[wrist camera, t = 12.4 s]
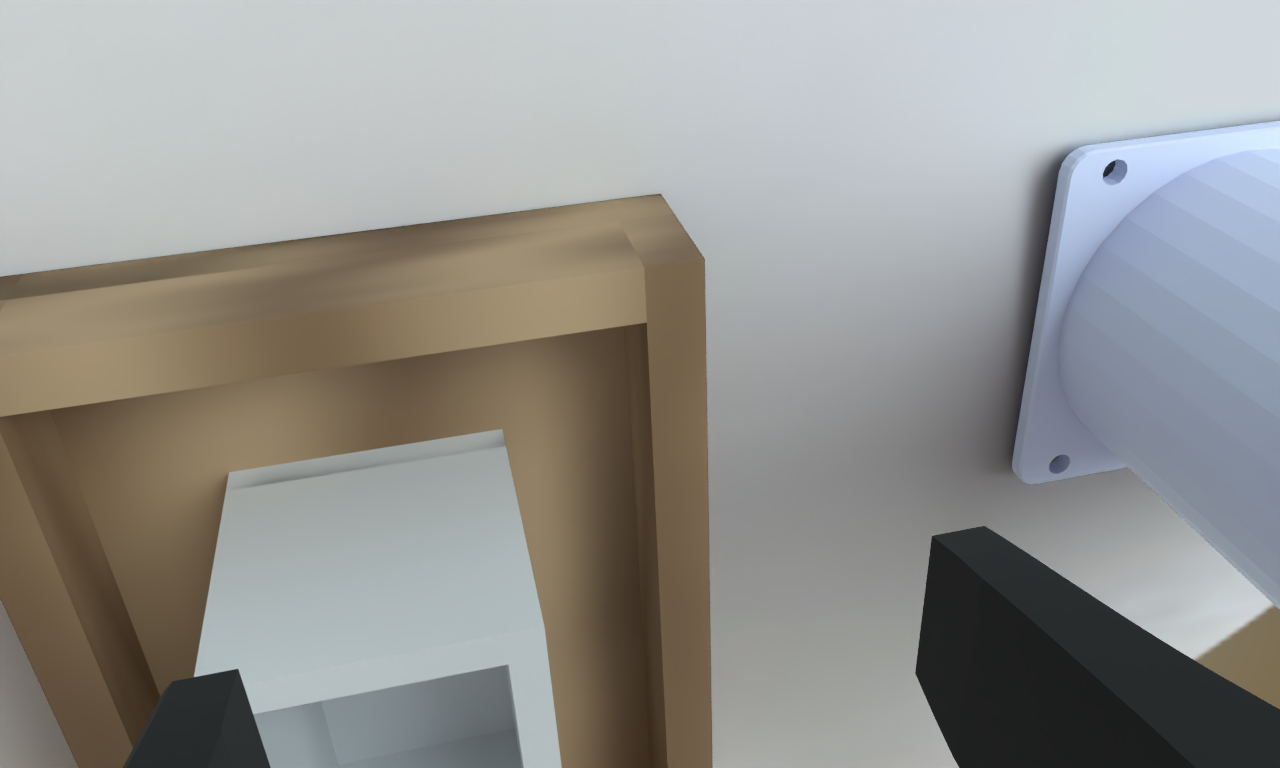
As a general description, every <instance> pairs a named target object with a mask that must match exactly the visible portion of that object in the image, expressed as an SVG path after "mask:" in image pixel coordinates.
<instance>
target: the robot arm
mask: <svg viewBox="0 0 1280 768" xmlns="http://www.w3.org/2000/svg"><path fill="white" fill-rule="evenodd" d="M1112 161H1115V167H1114V169H1113V171H1112V172H1111V173H1110V174H1109V175H1108V176H1107V177H1104V178H1103V172H1104V170H1105V167H1106V166H1107V165H1108V164H1109V163H1110V162H1112ZM1059 455H1060V456H1059ZM1057 456H1059V458H1058V459H1057V460H1056V461H1055V462H1053V463H1051V461H1052V460H1053V459H1054V458H1055V457H1057ZM1122 468H1129V469H1130V470H1131V471H1133V472H1134V473H1135V474H1136V475H1137V476H1138V477H1139V478H1140V479H1141V480H1142V481H1143V482H1144V483H1145V484H1146V485H1147V486H1149V487H1150V488H1151V489H1152V490H1153V491H1154V492H1155V493H1156V494H1157V495H1158V496H1159V497H1160V498H1161V499H1162V500H1163V501H1164V502H1166V503H1167V504H1168V505H1169V506H1170V507H1171V508H1172V509H1173V510H1174V511H1175V512H1176V513H1177V514H1178V515H1179V516H1180V517H1182V518H1183V519H1184V520H1185V521H1186V522H1187V523H1188V524H1189V525H1190V526H1191V527H1192V528H1193V529H1194V530H1195V531H1196V532H1197V533H1199V534H1200V535H1201V536H1202V537H1203V538H1204V539H1205V540H1206V541H1207V542H1208V543H1209V544H1210V545H1211V546H1212V547H1213V548H1215V549H1216V550H1217V551H1218V552H1219V553H1220V554H1221V555H1222V556H1223V557H1224V558H1225V559H1226V560H1227V561H1228V562H1229V563H1230V564H1232V565H1233V566H1234V567H1235V568H1236V569H1237V570H1238V571H1239V572H1240V573H1241V574H1242V575H1243V576H1244V577H1245V578H1246V579H1248V580H1249V581H1250V582H1251V583H1252V584H1253V585H1254V586H1255V587H1256V588H1257V589H1258V590H1259V591H1260V592H1261V593H1262V594H1263V595H1265V596H1266V597H1267V598H1268V599H1269V600H1270V601H1271V602H1272V603H1273V604H1274V605H1275V606H1276V607H1277V608H1279V610H1280V121H1273V122H1265V123H1257V124H1249V125H1241V126H1234V127H1226V128H1218V129H1210V130H1202V131H1194V132H1186V133H1178V134H1170V135H1163V136H1155V137H1147V138H1139V139H1131V140H1123V141H1115V142H1107V143H1099V144H1091V145H1085V146H1082V147H1079V148H1077V149H1075V150H1074V151H1073V152H1071V153H1070V154H1069V155H1068V156H1067V157H1066V159H1065V160H1064V161H1063V163H1062V165H1061V168H1060V171H1059V175H1058V181H1057V188H1056V194H1055V200H1054V206H1053V212H1052V218H1051V225H1050V231H1049V237H1048V243H1047V249H1046V255H1045V262H1044V268H1043V274H1042V280H1041V286H1040V292H1039V299H1038V305H1037V311H1036V317H1035V323H1034V329H1033V336H1032V342H1031V348H1030V354H1029V360H1028V366H1027V373H1026V379H1025V385H1024V391H1023V397H1022V404H1021V410H1020V416H1019V422H1018V428H1017V434H1016V441H1015V447H1014V453H1013V459H1012V470H1013V471H1014V473H1015V474H1016V475H1017V476H1018V478H1019V479H1020V480H1021V481H1022V482H1024V483H1026V484H1040V483H1045V482H1051V481H1056V480H1062V479H1067V478H1073V477H1078V476H1084V475H1089V474H1095V473H1100V472H1106V471H1111V470H1117V469H1122ZM916 676H917V678H918V680H919V682H920V685H921V687H922V689H923V692H924V694H925V696H926V698H927V701H928V703H929V705H930V708H931V710H932V712H933V714H934V717H935V719H936V721H937V723H938V725H939V728H940V730H941V732H942V734H943V736H944V738H945V740H946V742H947V744H948V747H949V749H950V751H951V753H952V755H953V757H954V759H955V761H956V762H957V764H958V766H959V768H1280V709H1278V708H1276V707H1274V706H1272V705H1271V704H1269V703H1267V702H1265V701H1264V700H1262V699H1260V698H1258V697H1257V696H1255V695H1253V694H1251V693H1250V692H1248V691H1246V690H1244V689H1242V688H1241V687H1239V686H1237V685H1235V684H1234V683H1232V682H1230V681H1228V680H1227V679H1225V678H1223V677H1221V676H1220V675H1218V674H1216V673H1214V672H1213V671H1211V670H1209V669H1208V668H1206V667H1204V666H1203V665H1201V664H1199V663H1197V662H1196V661H1194V660H1193V659H1191V658H1189V657H1188V656H1186V655H1184V654H1183V653H1181V652H1179V651H1178V650H1176V649H1174V648H1173V647H1171V646H1170V645H1168V644H1166V643H1165V642H1163V641H1162V640H1160V639H1158V638H1157V637H1155V636H1154V635H1152V634H1150V633H1149V632H1147V631H1146V630H1144V629H1142V628H1141V627H1139V626H1138V625H1136V624H1135V623H1133V622H1131V621H1130V620H1128V619H1127V618H1125V617H1124V616H1122V615H1120V614H1119V613H1117V612H1116V611H1114V610H1113V609H1111V608H1110V607H1108V606H1107V605H1105V604H1103V603H1102V602H1100V601H1099V600H1097V599H1096V598H1094V597H1093V596H1091V595H1090V594H1088V593H1087V592H1085V591H1084V590H1082V589H1081V588H1079V587H1078V586H1076V585H1075V584H1073V583H1072V582H1070V581H1068V580H1067V579H1065V578H1064V577H1062V576H1061V575H1059V574H1058V573H1056V572H1055V571H1053V570H1052V569H1050V568H1049V567H1047V566H1046V565H1044V564H1043V563H1041V562H1040V561H1038V560H1037V559H1035V558H1034V557H1032V556H1031V555H1029V554H1028V553H1026V552H1025V551H1023V550H1022V549H1020V548H1018V547H1017V546H1015V545H1014V544H1012V543H1011V542H1009V541H1008V540H1006V539H1005V538H1003V537H1001V536H1000V535H998V534H997V533H995V532H993V531H992V530H990V529H988V528H987V527H985V526H982V527H977V528H971V529H966V530H961V531H956V532H951V533H945V534H940V535H935V536H932V541H931V549H930V557H929V565H928V574H927V582H926V590H925V598H924V607H923V615H922V623H921V631H920V640H919V648H918V656H917V664H916ZM123 768H271V767H270V764H269V761H268V758H267V755H266V752H265V749H264V746H263V743H262V740H261V736H260V733H259V730H258V727H257V724H256V721H255V718H254V715H253V712H252V709H251V706H250V703H249V700H248V697H247V694H246V691H245V688H244V685H243V682H242V679H241V676H240V672H239V669H234V670H229V671H224V672H218V673H213V674H208V675H203V676H197V677H192V678H187V679H182V680H177V681H172V682H171V684H170V685H169V686H168V687H167V688H166V690H165V691H164V692H163V694H162V695H161V697H160V699H159V701H158V703H157V705H156V707H155V709H154V711H153V713H152V714H151V716H150V718H149V720H148V722H147V724H146V726H145V727H144V729H143V731H142V733H141V735H140V737H139V739H138V741H137V742H136V744H135V746H134V748H133V750H132V752H131V753H130V755H129V757H128V759H127V761H126V762H125V764H124V766H123Z"/></svg>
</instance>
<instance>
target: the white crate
mask: <svg viewBox="0 0 1280 768" xmlns="http://www.w3.org/2000/svg"><path fill="white" fill-rule="evenodd" d="M234 669H239V672H240V676H241V679H242V682H243V685H244V688H245V691H246V694H247V697H248V700H249V703H250V706H251V709H252V712H253V715H254V718H255V721H256V724H257V727H258V730H259V733H260V736H261V740H262V743H263V746H264V749H265V752H266V755H267V758H268V761H269V764H270V767H271V768H562V766H561V758H560V750H559V742H558V733H557V725H556V717H555V709H554V701H553V693H552V684H551V676H550V668H549V660H548V652H547V643H546V635H545V627H544V622H543V618H542V613H541V608H540V604H539V599H538V594H537V590H536V585H535V580H534V576H533V571H532V566H531V562H530V557H529V552H528V548H527V543H526V538H525V534H524V529H523V524H522V520H521V515H520V510H519V506H518V501H517V496H516V492H515V487H514V482H513V478H512V473H511V468H510V463H509V459H508V454H507V449H506V445H505V440H504V435H503V431H502V429H499V430H492V431H486V432H480V433H473V434H467V435H461V436H455V437H448V438H442V439H436V440H429V441H423V442H417V443H411V444H404V445H398V446H392V447H385V448H379V449H373V450H367V451H360V452H354V453H348V454H341V455H335V456H329V457H323V458H316V459H310V460H304V461H297V462H291V463H285V464H279V465H272V466H266V467H260V468H253V469H247V470H241V471H235V472H229V476H228V481H227V487H226V493H225V499H224V505H223V510H222V516H221V522H220V528H219V534H218V539H217V545H216V551H215V557H214V563H213V569H212V574H211V580H210V586H209V592H208V598H207V603H206V609H205V615H204V621H203V627H202V632H201V638H200V644H199V650H198V656H197V661H196V667H195V673H194V677H197V676H203V675H208V674H213V673H218V672H224V671H229V670H234Z"/></svg>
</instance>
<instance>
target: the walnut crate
mask: <svg viewBox="0 0 1280 768" xmlns="http://www.w3.org/2000/svg"><path fill="white" fill-rule="evenodd" d="M499 429H502V431H503V435H504V440H505V445H506V449H507V454H508V459H509V463H510V468H511V473H512V478H513V482H514V487H515V492H516V496H517V501H518V506H519V510H520V515H521V520H522V524H523V529H524V534H525V538H526V543H527V548H528V552H529V557H530V562H531V566H532V571H533V576H534V580H535V585H536V590H537V594H538V599H539V604H540V608H541V613H542V618H543V622H544V627H545V635H546V643H547V652H548V660H549V668H550V676H551V684H552V693H553V701H554V709H555V717H556V725H557V733H558V742H559V750H560V758H561V766H562V768H712V712H711V646H710V580H709V513H708V447H707V381H706V314H705V259H704V257H703V256H702V254H701V253H700V251H699V250H698V248H697V247H696V245H695V244H694V242H693V241H692V239H691V238H690V236H689V235H688V234H687V232H686V231H685V229H684V228H683V226H682V225H681V223H680V222H679V220H678V219H677V217H676V216H675V214H674V213H673V211H672V210H671V208H670V207H669V205H668V204H667V202H666V201H665V199H664V198H663V197H662V195H661V194H656V195H648V196H640V197H632V198H624V199H616V200H608V201H600V202H592V203H584V204H576V205H568V206H560V207H552V208H544V209H537V210H529V211H521V212H513V213H505V214H497V215H489V216H481V217H473V218H465V219H457V220H449V221H441V222H433V223H425V224H417V225H409V226H401V227H393V228H386V229H378V230H370V231H362V232H354V233H346V234H338V235H330V236H322V237H314V238H306V239H298V240H290V241H282V242H274V243H266V244H258V245H250V246H243V247H235V248H227V249H219V250H211V251H203V252H195V253H187V254H179V255H171V256H163V257H155V258H147V259H139V260H131V261H123V262H115V263H107V264H100V265H92V266H84V267H76V268H68V269H60V270H52V271H44V272H36V273H28V274H20V275H12V276H4V277H0V598H1V601H2V603H3V605H4V607H5V609H6V611H7V614H8V616H9V618H10V620H11V622H12V624H13V627H14V629H15V631H16V633H17V635H18V637H19V639H20V642H21V644H22V646H23V648H24V650H25V652H26V655H27V657H28V659H29V661H30V663H31V665H32V668H33V670H34V672H35V674H36V676H37V678H38V680H39V683H40V685H41V687H42V689H43V691H44V693H45V696H46V698H47V700H48V702H49V704H50V706H51V709H52V711H53V713H54V715H55V717H56V719H57V721H58V724H59V726H60V728H61V730H62V732H63V734H64V737H65V739H66V741H67V743H68V745H69V747H70V749H71V752H72V754H73V756H74V758H75V760H76V762H77V765H78V767H79V768H123V766H124V764H125V762H126V761H127V759H128V757H129V755H130V753H131V752H132V750H133V748H134V746H135V744H136V742H137V741H138V739H139V737H140V735H141V733H142V731H143V729H144V727H145V726H146V724H147V722H148V720H149V718H150V716H151V714H152V713H153V711H154V709H155V707H156V705H157V703H158V701H159V699H160V697H161V695H162V694H163V692H164V691H165V690H166V688H167V687H168V686H169V685H170V684H171V682H172V681H177V680H182V679H187V678H192V677H194V673H195V667H196V661H197V656H198V650H199V644H200V638H201V632H202V627H203V621H204V615H205V609H206V603H207V598H208V592H209V586H210V580H211V574H212V569H213V563H214V557H215V551H216V545H217V539H218V534H219V528H220V522H221V516H222V510H223V505H224V499H225V493H226V487H227V481H228V476H229V472H235V471H241V470H247V469H253V468H260V467H266V466H272V465H279V464H285V463H291V462H297V461H304V460H310V459H316V458H323V457H329V456H335V455H341V454H348V453H354V452H360V451H367V450H373V449H379V448H385V447H392V446H398V445H404V444H411V443H417V442H423V441H429V440H436V439H442V438H448V437H455V436H461V435H467V434H473V433H480V432H486V431H492V430H499Z"/></svg>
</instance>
